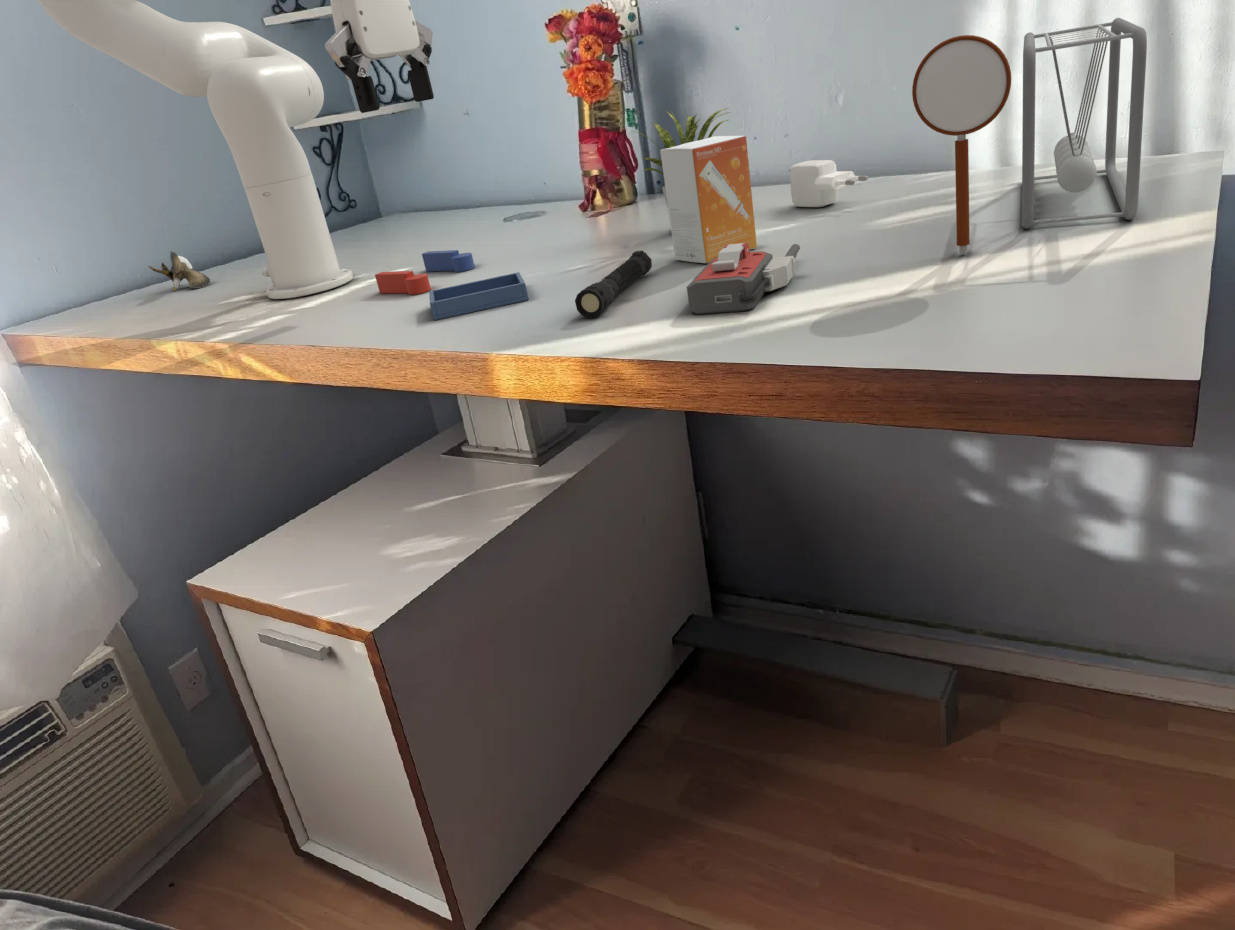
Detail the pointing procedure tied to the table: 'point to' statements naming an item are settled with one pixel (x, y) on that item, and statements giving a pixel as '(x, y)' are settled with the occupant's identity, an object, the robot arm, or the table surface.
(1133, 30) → the newton's cradle
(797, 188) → the power adapter
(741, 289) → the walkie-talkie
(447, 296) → the blue tray
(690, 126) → the house plant
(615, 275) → the flashlight
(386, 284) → the red block with cylinder
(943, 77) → the magnifying glass
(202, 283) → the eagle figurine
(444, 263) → the blue block with cylinder
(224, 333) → the table surface
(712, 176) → the small box
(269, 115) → the robot arm
